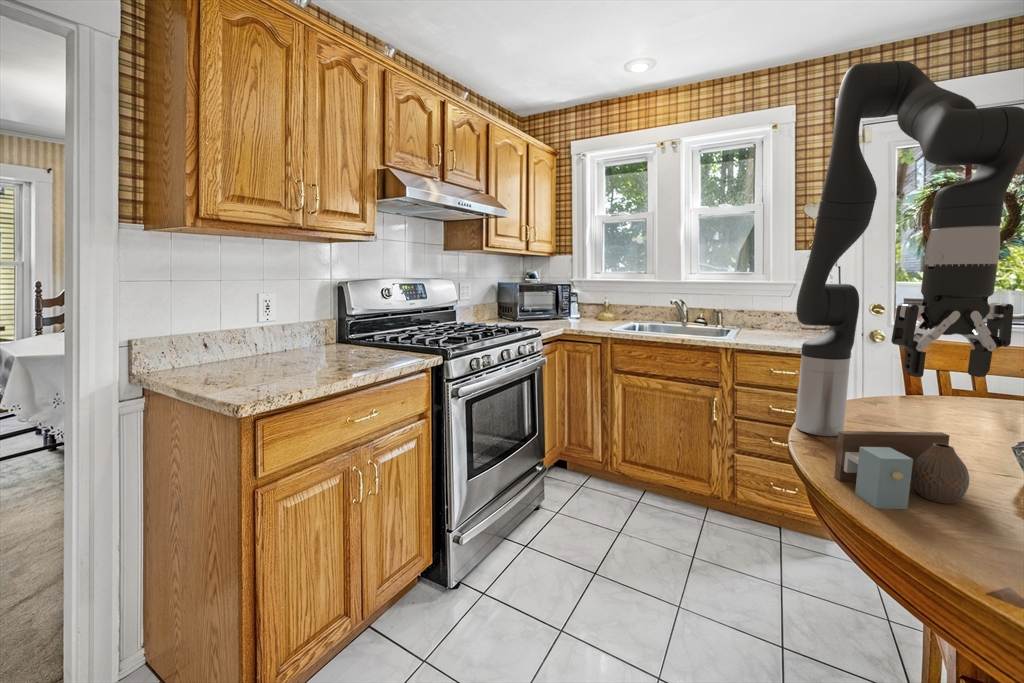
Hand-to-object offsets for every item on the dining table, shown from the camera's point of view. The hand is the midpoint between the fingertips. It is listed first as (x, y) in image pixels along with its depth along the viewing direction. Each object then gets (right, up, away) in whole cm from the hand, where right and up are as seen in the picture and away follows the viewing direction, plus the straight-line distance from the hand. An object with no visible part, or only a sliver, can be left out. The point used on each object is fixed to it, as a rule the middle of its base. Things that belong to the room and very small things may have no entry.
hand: (945, 376), depth 69 cm
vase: (+6, -20, +8) cm, 23 cm away
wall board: (+3, -19, +14) cm, 24 cm away
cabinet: (-4, -20, +8) cm, 22 cm away
